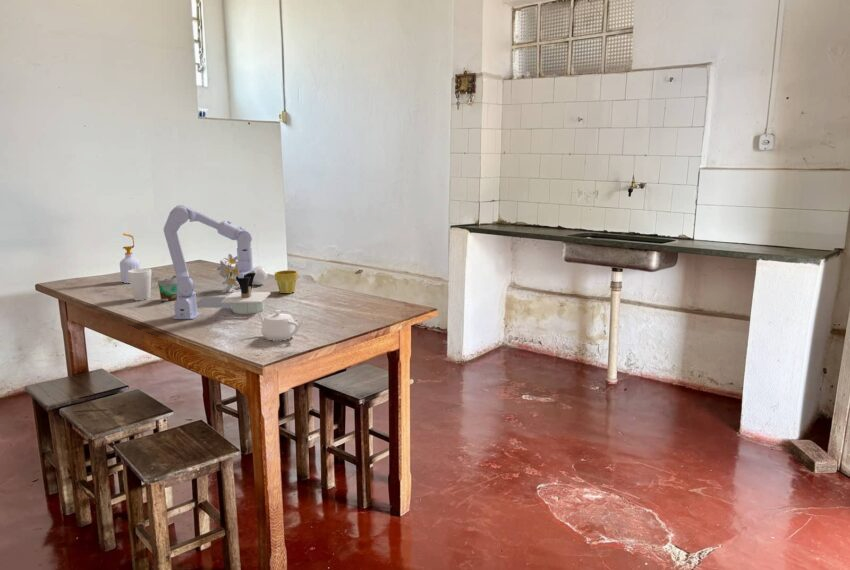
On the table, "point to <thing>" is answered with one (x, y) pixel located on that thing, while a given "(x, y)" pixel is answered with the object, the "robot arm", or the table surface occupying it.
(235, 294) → the cover sheet
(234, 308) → the bowl
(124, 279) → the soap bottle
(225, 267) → the flower vase
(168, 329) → the table surface
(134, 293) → the foam cup
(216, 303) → the mat
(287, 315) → the teapot
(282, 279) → the plant pot
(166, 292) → the food container
